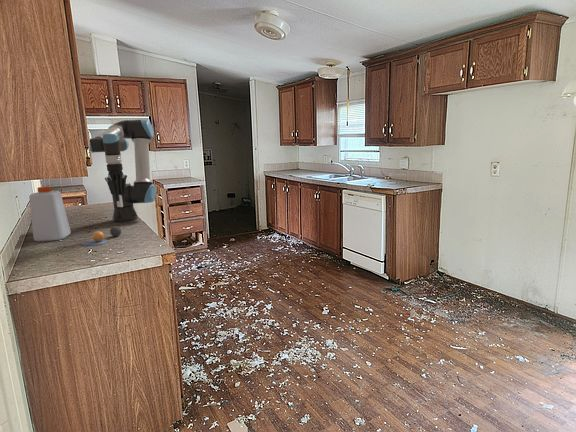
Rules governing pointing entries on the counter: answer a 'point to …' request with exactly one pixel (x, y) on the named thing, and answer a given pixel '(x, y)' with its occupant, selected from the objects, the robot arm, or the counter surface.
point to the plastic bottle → (48, 215)
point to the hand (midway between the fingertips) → (120, 206)
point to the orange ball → (98, 236)
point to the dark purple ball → (115, 231)
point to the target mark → (94, 243)
